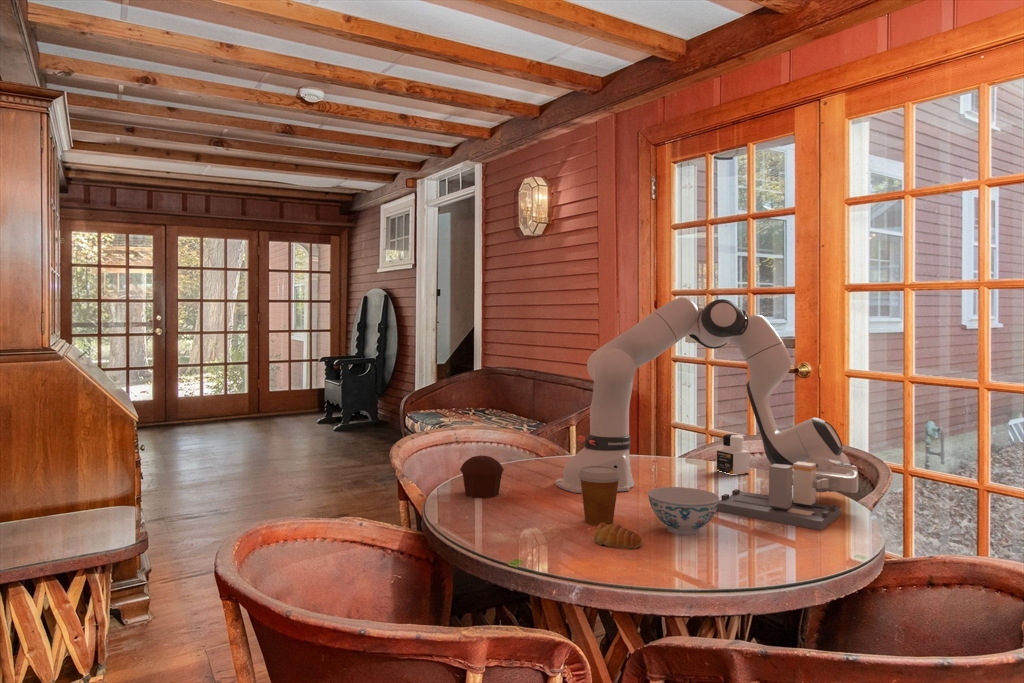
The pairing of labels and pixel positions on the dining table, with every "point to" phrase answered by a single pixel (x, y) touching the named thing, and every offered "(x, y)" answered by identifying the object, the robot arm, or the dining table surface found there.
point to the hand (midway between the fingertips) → (803, 483)
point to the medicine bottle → (733, 455)
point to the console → (778, 510)
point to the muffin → (482, 477)
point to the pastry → (616, 536)
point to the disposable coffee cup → (599, 493)
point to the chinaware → (683, 508)
